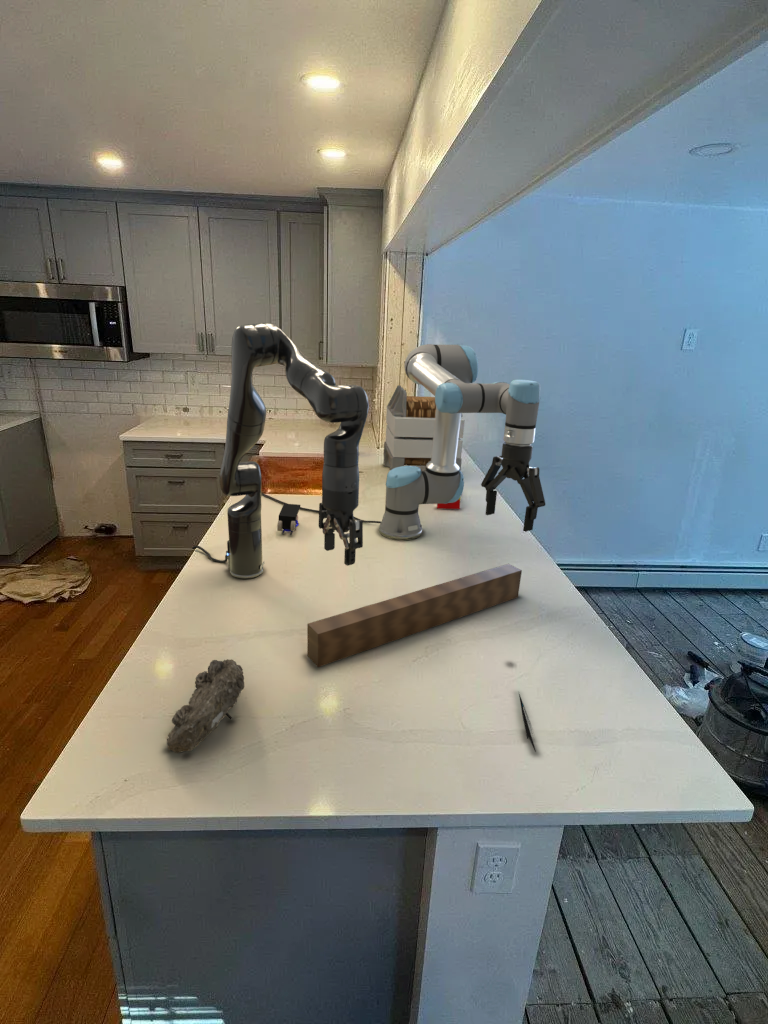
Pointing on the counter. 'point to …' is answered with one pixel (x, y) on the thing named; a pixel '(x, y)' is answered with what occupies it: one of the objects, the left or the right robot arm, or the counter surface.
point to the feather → (526, 723)
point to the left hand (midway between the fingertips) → (339, 556)
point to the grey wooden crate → (412, 430)
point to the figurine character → (288, 518)
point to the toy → (450, 505)
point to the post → (409, 614)
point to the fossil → (206, 705)
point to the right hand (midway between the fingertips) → (508, 522)
